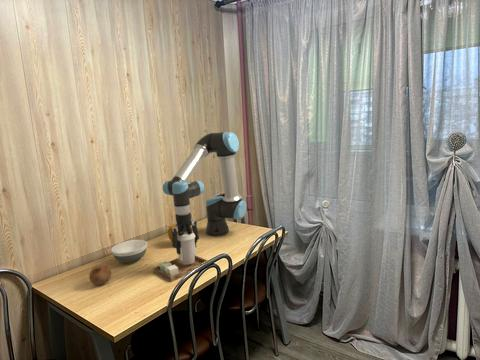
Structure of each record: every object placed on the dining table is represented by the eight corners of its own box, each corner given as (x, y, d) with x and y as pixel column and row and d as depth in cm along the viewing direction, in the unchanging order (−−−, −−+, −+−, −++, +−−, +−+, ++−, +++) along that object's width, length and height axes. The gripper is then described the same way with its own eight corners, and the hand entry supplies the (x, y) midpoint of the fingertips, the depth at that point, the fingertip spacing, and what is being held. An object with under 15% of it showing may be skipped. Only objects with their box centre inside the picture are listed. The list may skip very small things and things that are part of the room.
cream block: (175, 272, 151) (174, 264, 150) (178, 275, 147) (178, 267, 147) (167, 275, 148) (166, 267, 148) (171, 278, 145) (170, 270, 144)
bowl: (107, 261, 170) (105, 247, 168) (138, 250, 183) (137, 237, 181) (122, 271, 157) (120, 256, 155) (155, 258, 170) (153, 244, 168)
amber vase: (166, 248, 183) (164, 227, 181) (173, 241, 194) (171, 221, 192) (184, 248, 181) (182, 227, 179) (190, 241, 192) (188, 221, 190)
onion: (101, 293, 143) (95, 279, 137) (88, 284, 147) (81, 271, 141) (118, 277, 150) (112, 264, 144) (104, 269, 154) (98, 256, 148)
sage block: (166, 269, 155) (165, 261, 154) (172, 270, 153) (171, 263, 152) (160, 272, 152) (159, 264, 151) (166, 274, 149) (165, 266, 149)
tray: (190, 257, 168) (189, 253, 168) (209, 265, 157) (208, 260, 156) (153, 272, 153) (153, 268, 153) (171, 283, 142) (171, 278, 141)
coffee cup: (193, 266, 152) (191, 237, 149) (175, 265, 154) (172, 236, 151) (200, 257, 161) (197, 230, 158) (182, 257, 163) (180, 230, 160)
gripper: (194, 207, 162) (198, 248, 166) (160, 217, 148) (166, 262, 153) (203, 209, 157) (207, 252, 161) (169, 219, 143) (174, 266, 147)
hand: (187, 256), depth 157 cm, fingers closed on coffee cup, 7 cm apart
